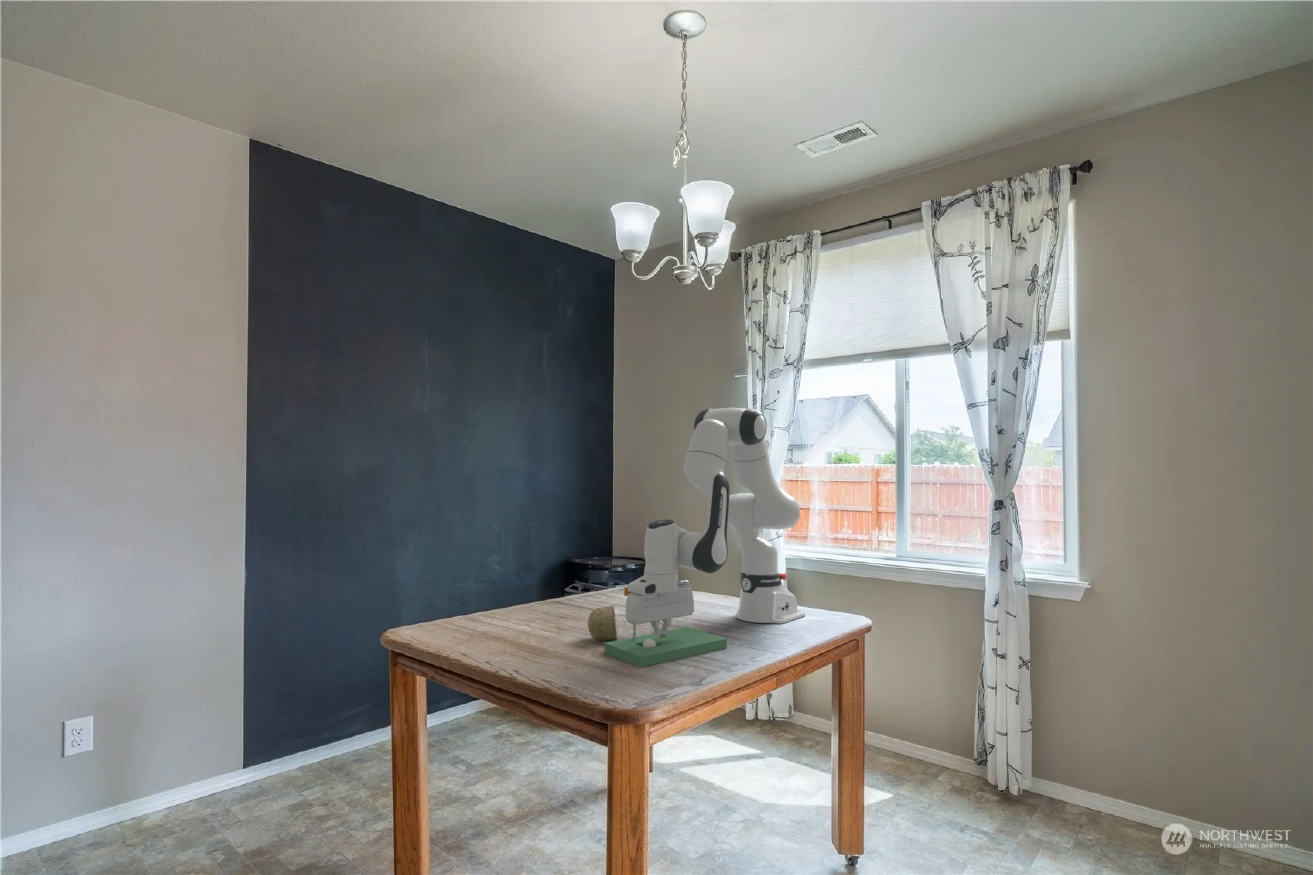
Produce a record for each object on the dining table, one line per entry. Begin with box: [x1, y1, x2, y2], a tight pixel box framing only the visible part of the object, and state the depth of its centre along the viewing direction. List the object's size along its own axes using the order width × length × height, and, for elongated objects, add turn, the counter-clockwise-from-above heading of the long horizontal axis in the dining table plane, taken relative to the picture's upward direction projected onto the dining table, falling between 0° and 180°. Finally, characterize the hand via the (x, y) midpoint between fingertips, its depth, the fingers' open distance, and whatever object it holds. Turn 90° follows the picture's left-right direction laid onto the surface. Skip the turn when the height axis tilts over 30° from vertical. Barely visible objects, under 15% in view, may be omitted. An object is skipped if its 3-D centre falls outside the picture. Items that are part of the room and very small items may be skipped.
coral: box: [587, 605, 619, 642], centre depth 190 cm, size 10×10×10 cm
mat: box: [603, 586, 728, 668], centre depth 180 cm, size 28×16×16 cm, turn 127°
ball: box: [643, 639, 657, 648], centre depth 176 cm, size 4×4×4 cm
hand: (660, 636), depth 179 cm, fingers closed
